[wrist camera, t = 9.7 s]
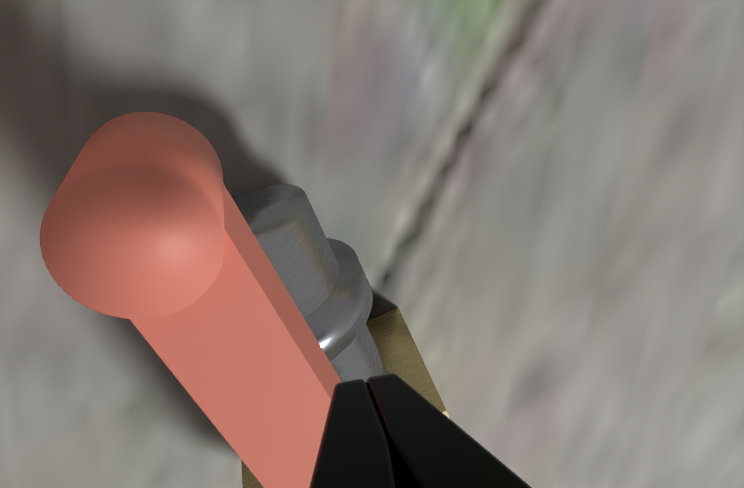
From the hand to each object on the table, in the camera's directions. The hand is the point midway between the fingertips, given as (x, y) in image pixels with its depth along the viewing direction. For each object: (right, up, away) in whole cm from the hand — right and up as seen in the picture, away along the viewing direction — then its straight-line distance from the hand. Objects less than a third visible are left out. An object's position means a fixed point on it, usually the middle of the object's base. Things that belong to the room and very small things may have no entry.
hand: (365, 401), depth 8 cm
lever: (-2, -2, +8) cm, 8 cm away
